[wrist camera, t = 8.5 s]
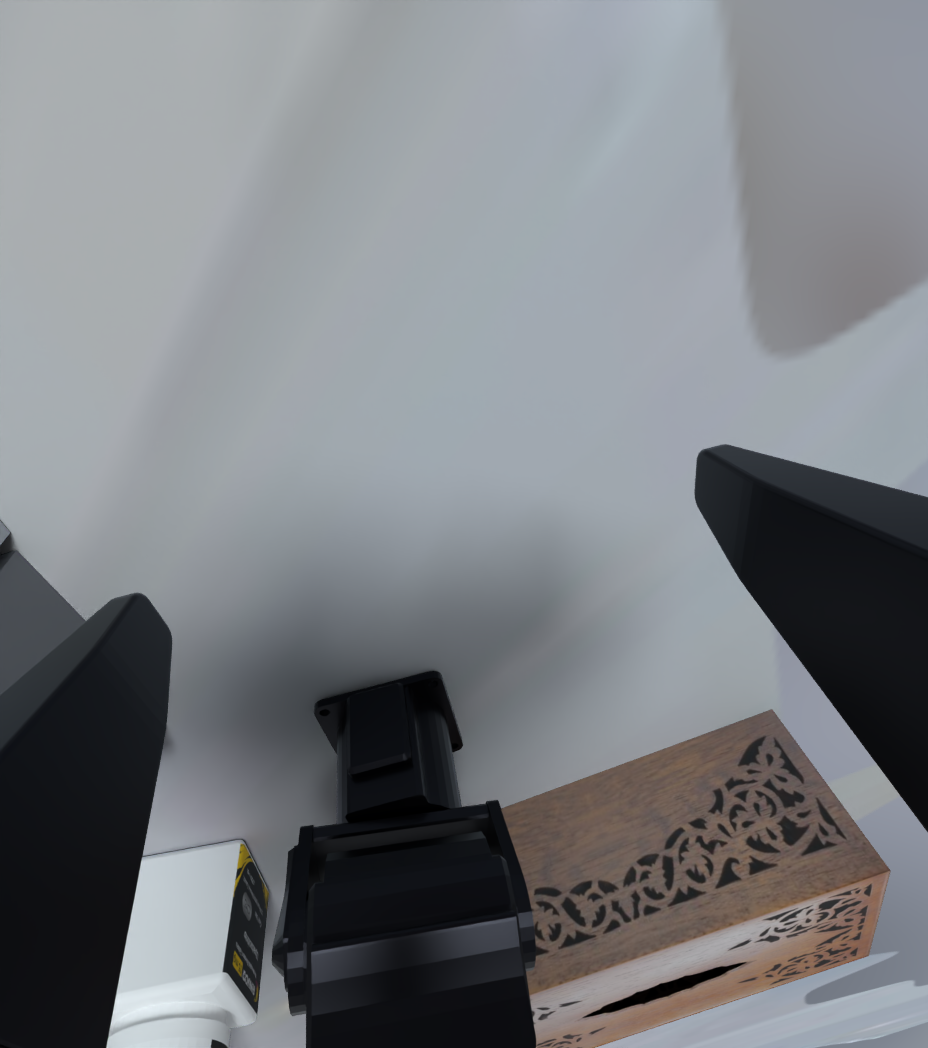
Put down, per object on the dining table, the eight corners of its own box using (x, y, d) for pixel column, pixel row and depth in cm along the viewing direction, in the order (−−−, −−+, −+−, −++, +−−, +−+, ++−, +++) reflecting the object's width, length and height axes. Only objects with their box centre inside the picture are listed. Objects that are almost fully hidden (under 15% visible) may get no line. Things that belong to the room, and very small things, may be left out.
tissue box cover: (769, 705, 37) (890, 870, 29) (774, 806, 45) (868, 955, 37) (398, 842, 38) (414, 1034, 30) (470, 914, 47) (497, 1080, 39)
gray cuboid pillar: (144, 678, 26) (108, 780, 22) (41, 711, 26) (-14, 819, 22) (18, 547, 21) (-58, 647, 17) (-108, 588, 21) (-212, 697, 17)
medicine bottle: (270, 889, 38) (246, 1148, 29) (158, 911, 38) (94, 1185, 28) (244, 835, 34) (205, 1116, 25) (117, 858, 33) (25, 1159, 24)
